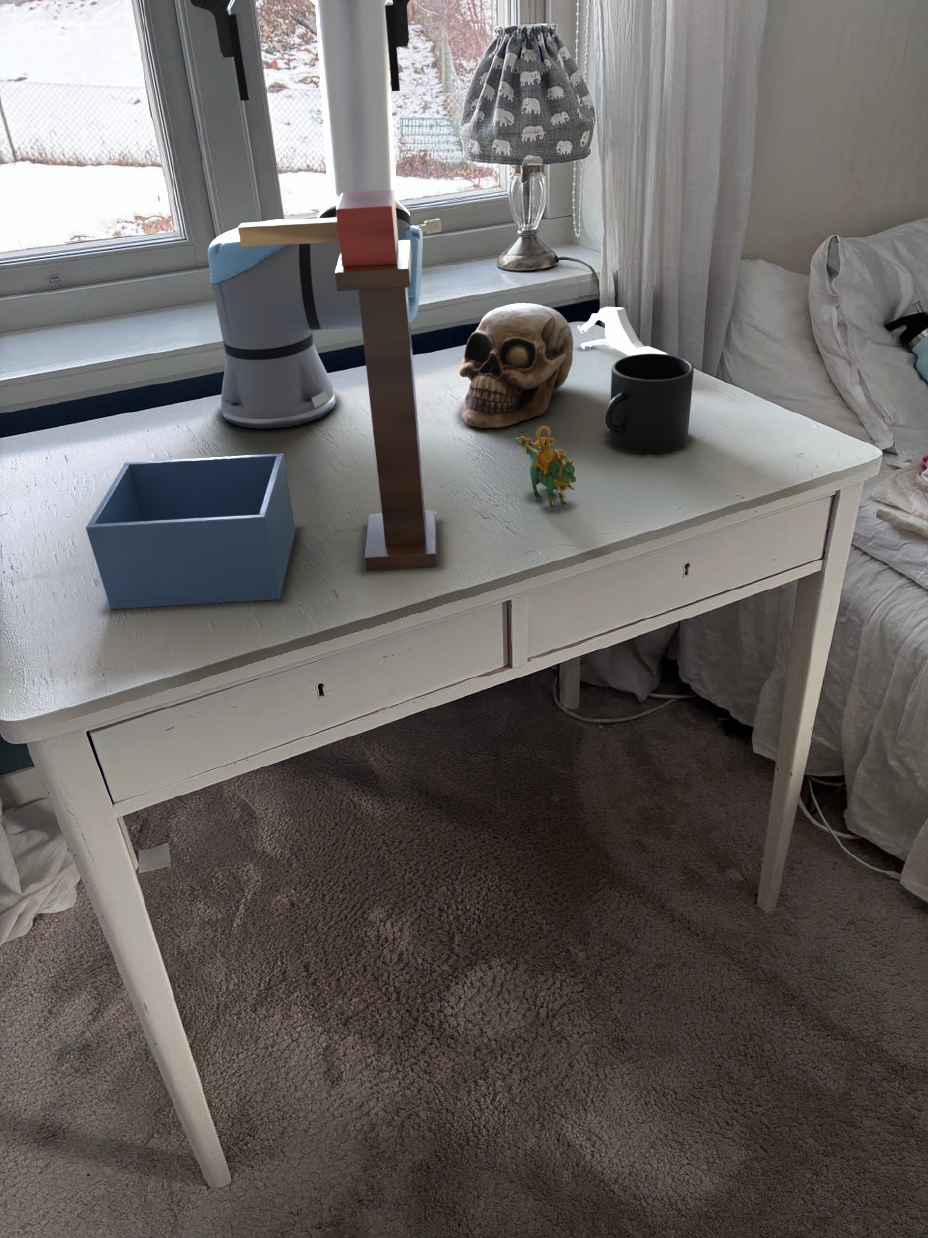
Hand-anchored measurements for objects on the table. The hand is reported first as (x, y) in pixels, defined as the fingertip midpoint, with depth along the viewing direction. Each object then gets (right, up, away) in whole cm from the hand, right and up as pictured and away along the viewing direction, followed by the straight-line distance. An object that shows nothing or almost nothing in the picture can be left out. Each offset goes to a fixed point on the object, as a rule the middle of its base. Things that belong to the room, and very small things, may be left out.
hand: (321, 94), depth 87 cm
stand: (+7, -40, +10) cm, 42 cm away
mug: (+34, -27, +29) cm, 52 cm away
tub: (-13, -43, +8) cm, 45 cm away
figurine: (+22, -35, +18) cm, 45 cm away
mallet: (+1, -17, -6) cm, 18 cm away
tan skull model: (+20, -19, +41) cm, 49 cm away
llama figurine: (+36, -11, +52) cm, 64 cm away
